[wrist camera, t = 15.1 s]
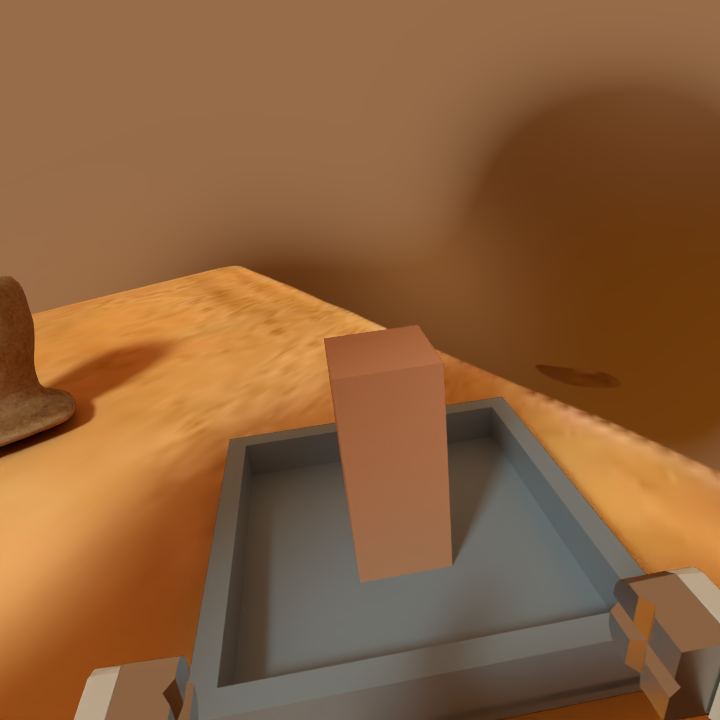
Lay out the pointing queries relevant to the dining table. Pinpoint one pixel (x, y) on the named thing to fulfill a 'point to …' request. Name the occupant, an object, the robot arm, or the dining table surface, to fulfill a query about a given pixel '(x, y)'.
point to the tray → (407, 589)
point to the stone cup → (23, 373)
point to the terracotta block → (392, 449)
